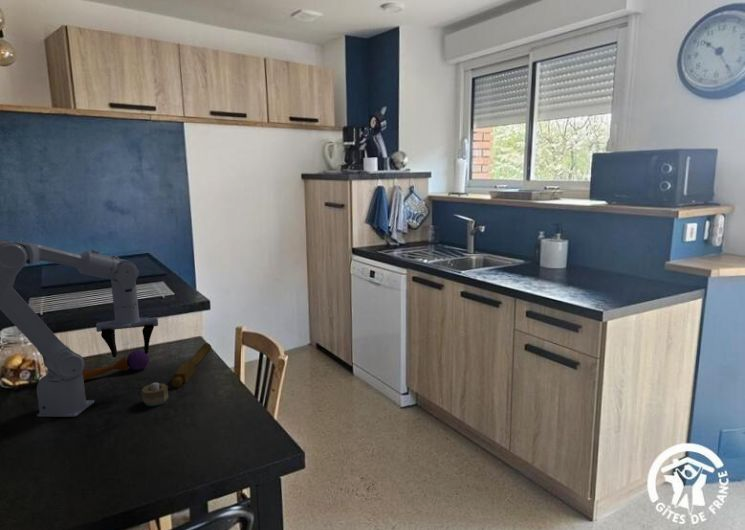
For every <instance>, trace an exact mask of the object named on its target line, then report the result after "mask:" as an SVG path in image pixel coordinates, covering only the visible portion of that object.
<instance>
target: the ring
mask: <svg viewBox="0 0 745 530" xmlns="http://www.w3.org/2000/svg"><path fill="white" fill-rule="evenodd" d="M158 383H159V382H158ZM168 388H169V387H168V384H167V385H166V383H164V382H163V383H159V390H156V391H151V388H150V384H149V385H145V386H144V387H142V389H141V399H142V400H141V401H142V402H143V403H144V404H145V405H146V404H157V403H160V402H163V401H165V400H166V399H167V400H168V398H169V390H168Z"/></svg>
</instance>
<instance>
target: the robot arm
mask: <svg viewBox="0 0 745 530" xmlns="http://www.w3.org/2000/svg"><path fill="white" fill-rule="evenodd" d="M38 262H47V263H52V264H53V263H54V264H57V265H62V266H68V267H75V268H76V269H77V271H78V273H79V274H81V275H87V276H90V277H96V278H100V279H106V280H110V283H111V294H112V303H113V304H112V306H113V312H114V319H113V320H108V321H102V322H97V323H96V325H95V328H96V332H97V333H99V332H100V333H101V334H100V336H101V338H102V340H104V342H105V343H106V344H107V346H108V348H109V350H110V352H111V355H112V358H116V357H117V356H118V349H117V343H116V330H124V329H133V328H134V329H136V328H142V329H141V331H142V332H141V333H142V337H143V347H144V348H143V351H144V352H145V354H148V353H149V347H150V345H149V344H150V342H151V341H150V340H151V337H152V333H153V330H154V328H155V327H158V326H159V318H158V317H140V313H139V311H140V310H139V300H138V299H139V298H138V291H137V283H136V280H137V279H138V277H139V274H140V269H138V266H137V265H136V264H135V263H134V262H133V261H131V260H127V259H123V258H120V257H119V256H117V255H112V256H111V255H105V254H102V253H100V251H99V250H95V249H92V250H91V251H89V250H87V251H83V252H82V253H79V254H77V253H74V252H70V251H65V250H61V249H57V248H55V247H54V248H53V247H50V246H45V245H42V244H37V243H35V242H34V243H33V242H32V243H31V242H24V241H16V240H13V241H12V242H11V241H9V240H7V239H0V311H1V312H2V313H3V314H4V315H5V316H6V318H7V319H8V320H9V321H11V323H12V324H13V325H14V326H15V327H16V328H17V329H18V330H19V332H21V333H22V335H24V337H25V338H26V339H27V340H28V341H29V342H30V343H31V344H32V345H33V346H34V347H35V348H36V351H38V353H39V354H40V355H41V357H42V361H43V364H44V366H45V367H46V368H47V369H49V372H48V374H47V375H44V376H41V378H40V379H39V381H38V383H37V386H36V397H37V401H38V402H37V403H38V410H39V413H37V417H44V418H45V417H49V418H50V417H52V418H53V417H56V418H57V417H58V418H59V417H60V418H62V417H64V418H65V417H66V418H68V417H69V418H74V417H77V416H79V415H80V414H81V413H83V411H85V410H86V409H87V408H89V407H90V406H91V405H94V403H95V400H93V399H92V400H91V399H90V400H87V398H86V397H87V396H86V387H85V380H83V371H84V369H85V359H84V357H83V356H82V355H81V354H79V353H77V352H75V351H73V350H72V349H71V348H70V347H69V346H67V345H66V344H65V343H63V341H61V339H59V338H58V336H56V333H54V332H53V331H52V330H51V329H50V328H49V326H47V324H46V323H45V322H44V321H43V320H42V318H41V317H39V315H38V314H37V313H36V312H35V311H34V310H33V308H32V307H31V306H30V305H29V304H28V303H27V302H26V300H24V298H23V297H22V296H21V295H20V294H19V293H18V292H17V291H16V289H15V288H14V285H15V282H16V279H17V275H18V274H19V273H20V271H21V270H22V269H23V268H24V267H25V265H26V264H27V265H33V264H37V263H38ZM148 355H149V354H148Z"/></svg>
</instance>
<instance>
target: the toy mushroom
mask: <svg viewBox="0 0 745 530" xmlns="http://www.w3.org/2000/svg"><path fill="white" fill-rule="evenodd" d="M149 385H150V388H151V391H156V390H159V382H153V383H150V384H149ZM167 400H168V398H167V399H166V400H165V401H163V402H160V403H157V404H145V406H147V407H159V406H160V405H164V404H165V403H166V402H167Z"/></svg>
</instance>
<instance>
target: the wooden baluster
mask: <svg viewBox="0 0 745 530" xmlns="http://www.w3.org/2000/svg"><path fill="white" fill-rule="evenodd" d="M211 350H212V345H211V344H210V343H208V342H206V343H204V344H202V346H200V348H199V349H198V350H197V351H196V353H195V354H194V356H192V358H191V359H190V361H187V362H184V363H182V364H181V365H180V366H179V368H177V369H176V371H175V372H174V373H173V378H172V380H171V383H170V385H171V386H172V388H174V389H178V388H180V387H181V386H182V384H186V383H188V381H189V380H190V379H191V377H192V376H193V375H194V374H195V372H196V368H197V366H198V364H199V363H200V362H201V361H202V360H203V359H204V358H205V357H206V356H207V354H208V353H209V352H210V351H211Z"/></svg>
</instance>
